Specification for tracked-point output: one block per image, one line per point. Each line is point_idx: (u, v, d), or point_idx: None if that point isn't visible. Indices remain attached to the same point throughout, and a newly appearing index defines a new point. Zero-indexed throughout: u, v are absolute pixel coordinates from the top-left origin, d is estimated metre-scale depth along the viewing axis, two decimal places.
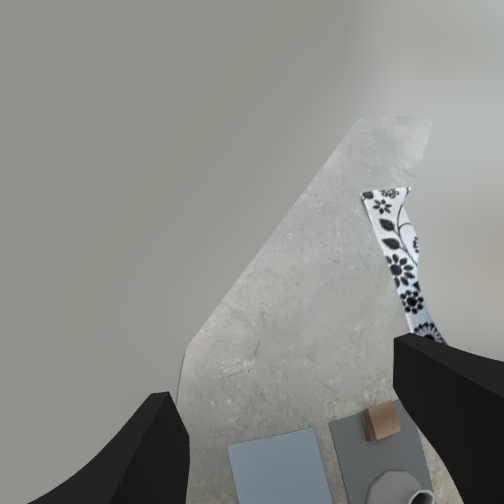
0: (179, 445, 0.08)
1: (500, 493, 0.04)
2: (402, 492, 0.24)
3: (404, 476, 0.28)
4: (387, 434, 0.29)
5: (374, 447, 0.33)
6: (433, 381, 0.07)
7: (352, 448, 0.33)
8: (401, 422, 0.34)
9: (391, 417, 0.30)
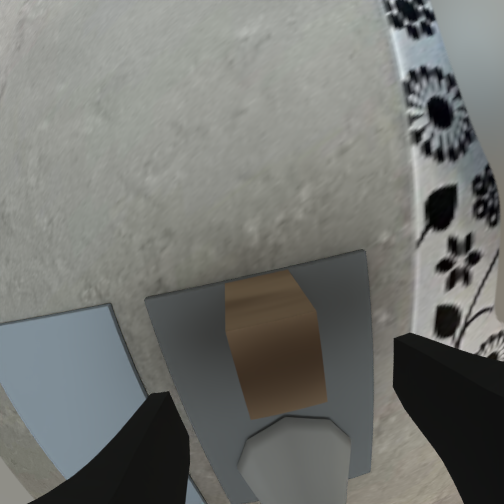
0: (179, 445, 0.08)
1: (501, 493, 0.04)
2: None
3: (319, 455, 0.15)
4: (284, 409, 0.11)
5: None
6: (433, 381, 0.07)
7: (206, 367, 0.16)
8: (338, 317, 0.16)
9: (305, 365, 0.11)
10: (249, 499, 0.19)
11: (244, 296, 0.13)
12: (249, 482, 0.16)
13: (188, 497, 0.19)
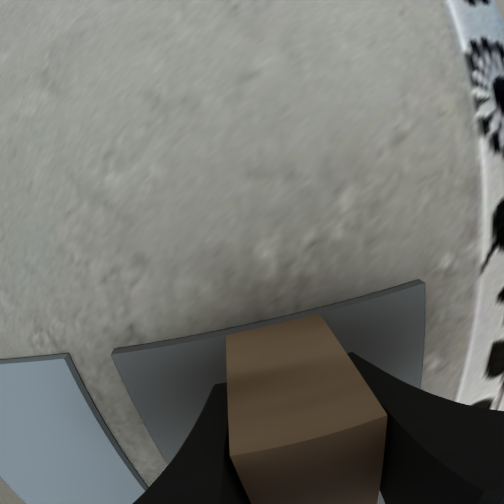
0: None
1: None
2: None
3: None
4: None
5: None
6: None
7: None
8: None
9: (355, 480, 0.06)
10: None
11: (258, 368, 0.08)
12: None
13: None
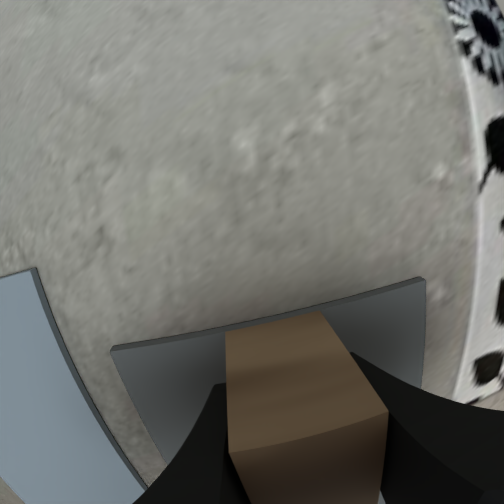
0: None
1: None
2: None
3: None
4: None
5: None
6: None
7: None
8: None
9: (356, 478, 0.06)
10: None
11: (258, 364, 0.08)
12: None
13: None
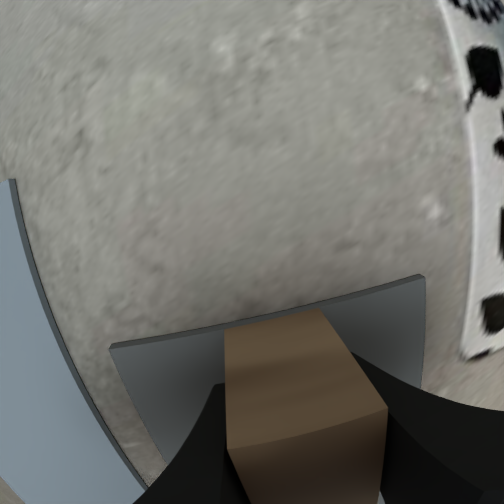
0: None
1: None
2: None
3: None
4: None
5: None
6: None
7: None
8: (383, 368, 0.11)
9: (356, 476, 0.05)
10: None
11: (256, 361, 0.08)
12: None
13: None
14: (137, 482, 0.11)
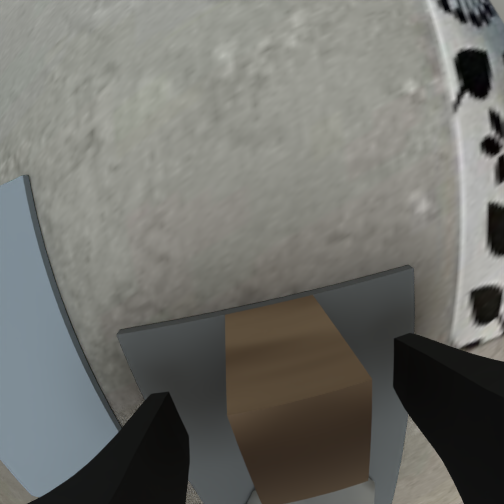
0: (179, 445, 0.08)
1: (501, 493, 0.04)
2: None
3: None
4: (310, 494, 0.07)
5: None
6: (433, 381, 0.07)
7: (202, 417, 0.12)
8: (374, 354, 0.12)
9: (346, 447, 0.06)
10: None
11: (254, 341, 0.09)
12: None
13: None
14: None
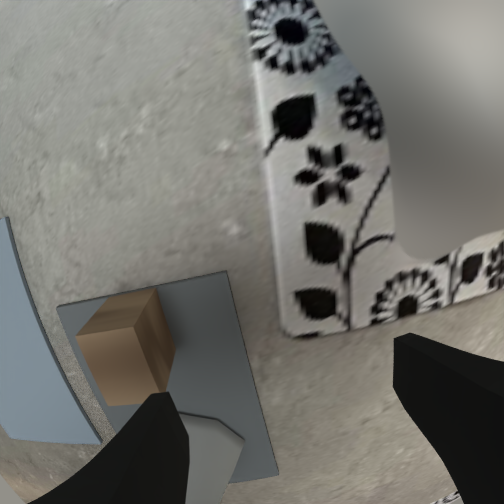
0: (179, 445, 0.08)
1: (500, 493, 0.04)
2: None
3: (198, 450, 0.17)
4: (130, 401, 0.13)
5: None
6: (433, 381, 0.07)
7: None
8: (207, 330, 0.18)
9: (135, 368, 0.13)
10: None
11: (108, 309, 0.15)
12: None
13: (82, 429, 0.19)
14: (75, 403, 0.19)
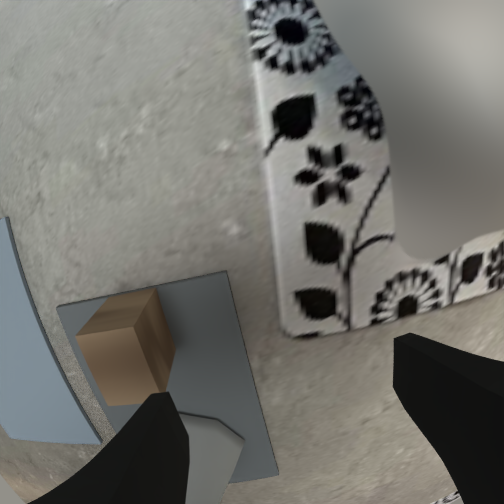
0: (179, 445, 0.08)
1: (500, 493, 0.04)
2: None
3: (198, 450, 0.17)
4: (130, 401, 0.13)
5: None
6: (433, 381, 0.07)
7: None
8: (207, 330, 0.18)
9: (135, 368, 0.13)
10: None
11: (108, 309, 0.15)
12: None
13: (82, 429, 0.19)
14: (75, 403, 0.19)
